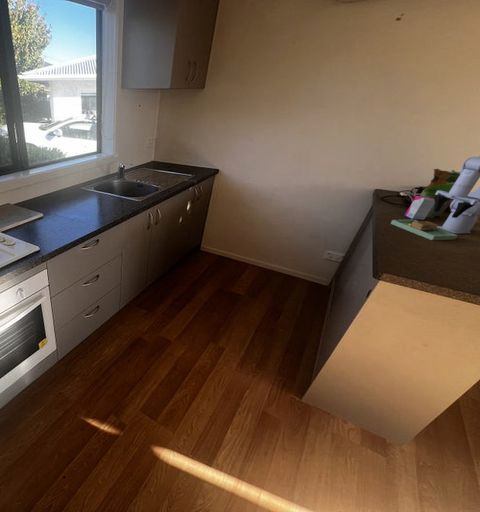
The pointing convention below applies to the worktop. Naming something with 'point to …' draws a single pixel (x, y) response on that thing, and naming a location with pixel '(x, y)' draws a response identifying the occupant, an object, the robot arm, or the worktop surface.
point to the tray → (435, 235)
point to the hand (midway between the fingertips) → (444, 214)
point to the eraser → (424, 226)
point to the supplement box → (420, 208)
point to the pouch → (440, 188)
